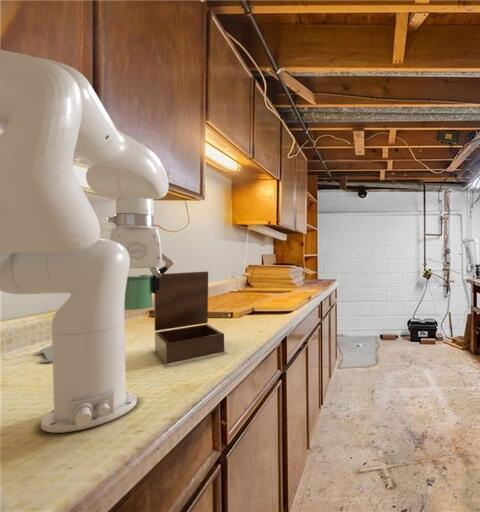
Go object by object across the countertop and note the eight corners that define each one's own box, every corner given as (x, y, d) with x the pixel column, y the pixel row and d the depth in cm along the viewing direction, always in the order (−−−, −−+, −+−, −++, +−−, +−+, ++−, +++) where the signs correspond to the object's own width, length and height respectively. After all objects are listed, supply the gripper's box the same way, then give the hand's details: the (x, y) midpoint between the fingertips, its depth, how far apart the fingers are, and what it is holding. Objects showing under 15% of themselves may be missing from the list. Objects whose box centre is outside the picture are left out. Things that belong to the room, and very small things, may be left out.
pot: (154, 307, 78) (154, 275, 78) (121, 311, 74) (120, 277, 74) (150, 304, 83) (150, 274, 83) (119, 307, 78) (118, 275, 78)
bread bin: (224, 354, 88) (224, 333, 88) (166, 366, 79) (166, 344, 79) (207, 342, 99) (207, 324, 99) (155, 352, 90) (154, 332, 90)
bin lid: (208, 271, 98) (207, 271, 98) (154, 274, 88) (154, 273, 89) (207, 323, 99) (206, 322, 100) (155, 331, 89) (154, 330, 90)
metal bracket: (96, 323, 100) (108, 330, 91) (103, 339, 101) (116, 348, 92) (32, 346, 89) (38, 357, 80) (41, 364, 90) (48, 377, 81)
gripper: (87, 219, 69) (89, 300, 70) (179, 223, 81) (180, 292, 82) (87, 221, 75) (88, 296, 75) (173, 225, 87) (174, 290, 87)
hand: (136, 293), depth 78 cm, fingers closed on pot, 6 cm apart
